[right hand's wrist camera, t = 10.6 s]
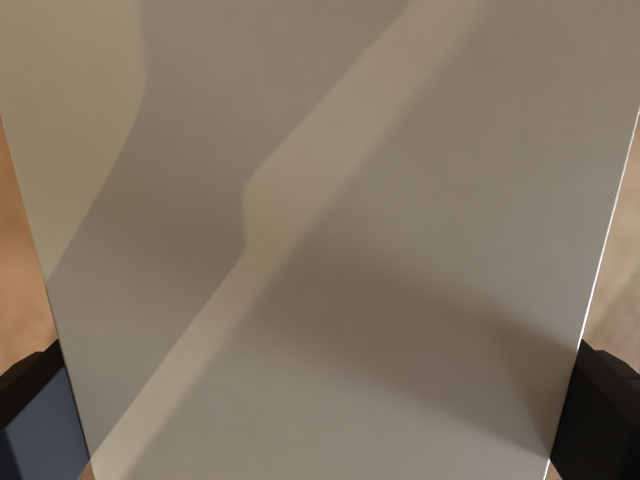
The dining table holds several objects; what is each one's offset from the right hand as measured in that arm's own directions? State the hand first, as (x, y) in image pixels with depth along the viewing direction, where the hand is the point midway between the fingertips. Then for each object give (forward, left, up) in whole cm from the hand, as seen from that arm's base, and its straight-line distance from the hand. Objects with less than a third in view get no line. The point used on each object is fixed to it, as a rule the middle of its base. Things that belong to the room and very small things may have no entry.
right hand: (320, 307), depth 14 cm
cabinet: (+4, -4, -5) cm, 8 cm away
